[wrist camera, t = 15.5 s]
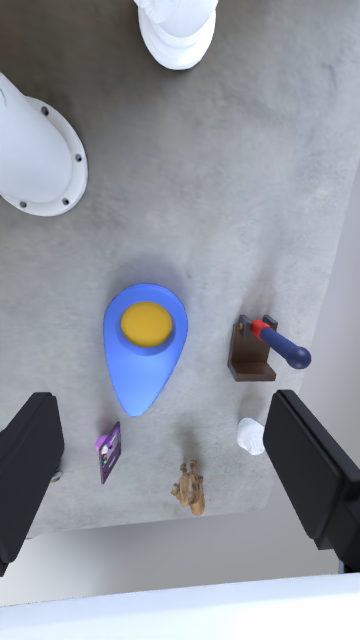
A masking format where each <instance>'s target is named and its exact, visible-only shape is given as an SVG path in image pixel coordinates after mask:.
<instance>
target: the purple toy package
mask: <svg viewBox="0 0 360 640" xmlns="http://www.w3.org/2000/svg"><path fill="white" fill-rule="evenodd" d="M116 428H117V430H116V431H115V429H116ZM114 431H115V433H114V434H113V432H114ZM117 433H118V444H117V446H116V448H115V449H114V451H113V452H112V454H111V456H110V457H109V459H108V461H107V457H106V454H107V453H109V452H110V451H111V450H112V448H113V439H114V438H115V436H116V434H117ZM112 434H113V435H112ZM111 435H112V437H111ZM110 437H111V438H110ZM95 448H96V450H97V451H98V453H99V460H100V471H101V483H102V484H104V483H105V481H106V479H107V478H108V476H109V474H110V472H111V470H112V469H113V467H114V465H115V463H116V462H117V460H118V458H119V456H120V455H121V442H120V422H117V423H116V425H115V426H114V428H113V429H112V431H111V432H110V433H109V435H108V436H101V437H100V438H98V439H97V441H96V443H95ZM105 457H106V458H105ZM102 461H103V462H102ZM106 461H107V462H106ZM104 465H105V466H104ZM103 466H104V467H103Z"/></svg>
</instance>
